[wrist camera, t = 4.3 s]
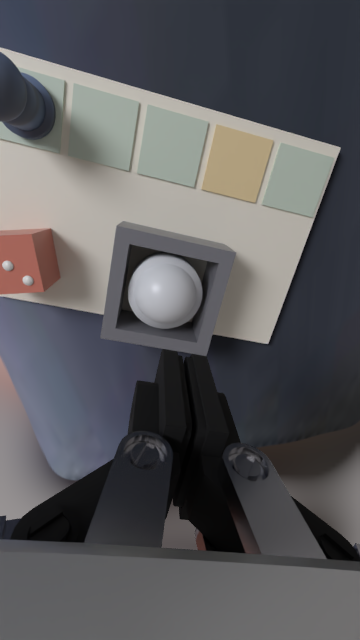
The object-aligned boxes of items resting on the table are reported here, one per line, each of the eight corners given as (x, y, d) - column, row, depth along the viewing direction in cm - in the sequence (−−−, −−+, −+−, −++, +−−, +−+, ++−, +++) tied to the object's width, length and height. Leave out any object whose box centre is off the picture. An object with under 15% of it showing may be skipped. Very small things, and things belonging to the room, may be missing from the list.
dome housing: (123, 220, 24) (116, 225, 20) (224, 243, 25) (236, 252, 21) (108, 317, 27) (100, 338, 23) (199, 333, 28) (206, 355, 24)
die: (-2, 230, 23) (-32, 237, 20) (51, 228, 24) (30, 234, 20) (11, 280, 25) (-15, 295, 21) (60, 277, 25) (43, 292, 21)
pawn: (0, 69, 20) (-66, 15, 14) (57, 85, 20) (17, 40, 14) (0, 131, 21) (-61, 107, 15) (53, 145, 21) (15, 127, 16)
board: (-4, 50, 20) (-12, 43, 19) (335, 149, 24) (342, 147, 23) (-5, 291, 26) (-10, 295, 25) (265, 340, 30) (268, 345, 29)
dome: (137, 243, 24) (132, 254, 20) (204, 258, 25) (215, 271, 20) (126, 308, 26) (119, 331, 22) (188, 320, 27) (195, 344, 22)
